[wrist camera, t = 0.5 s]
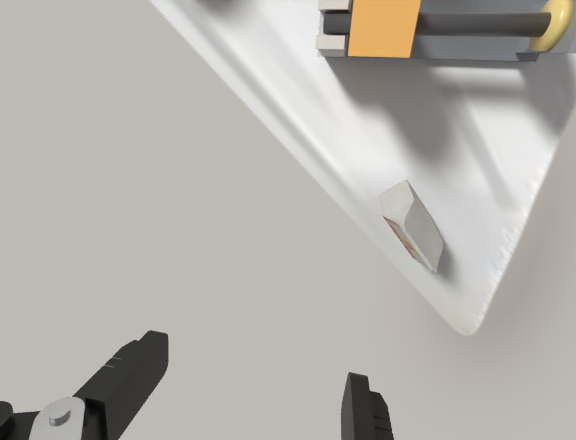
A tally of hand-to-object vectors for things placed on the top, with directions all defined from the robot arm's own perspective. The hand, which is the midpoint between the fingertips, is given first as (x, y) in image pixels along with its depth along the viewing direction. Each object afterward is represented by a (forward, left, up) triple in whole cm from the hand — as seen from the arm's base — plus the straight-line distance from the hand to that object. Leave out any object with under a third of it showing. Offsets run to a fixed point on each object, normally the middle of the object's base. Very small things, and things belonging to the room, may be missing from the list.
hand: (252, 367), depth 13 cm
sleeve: (-9, +11, -25) cm, 29 cm away
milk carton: (+11, +6, -29) cm, 32 cm away
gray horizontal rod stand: (-6, +15, -29) cm, 33 cm away
